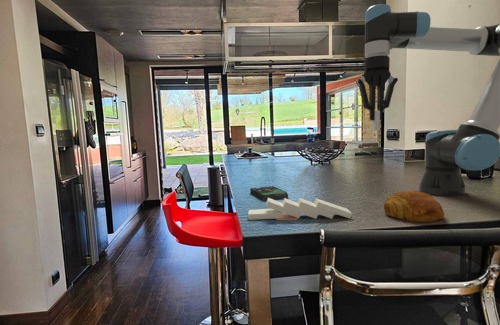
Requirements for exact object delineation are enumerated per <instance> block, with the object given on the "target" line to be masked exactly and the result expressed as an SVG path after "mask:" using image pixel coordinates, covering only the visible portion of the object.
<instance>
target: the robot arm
mask: <svg viewBox="0 0 500 325" xmlns="http://www.w3.org/2000/svg"><path fill="white" fill-rule="evenodd" d="M364 15H365V16H364V58H365V59H364V69H363V70H364V72H363V75H362V77H361V78H359V79H357V80H356V82H355V84H356V85H357V87H358V89H359V93H360V97H361V102H362V105H363V109H364V110H365V109H366V110H368V111H369V121H372V124H371V129H372V131H380V129H381V127H380V126H381V125H380V124H381V121H382V120H383V119H384V117H383V116H384V114H383V113H384V110H385V109H388V108H389V107H390V104H391V99H392V96H393V92H394V89H395V85H396V84H397V83H398V81H399V78H398V77H394V76H392V75H391V71H390V62H391V59H390V56H389V55H390V52H391V50H392V49H409V50H427V51H428V50H429V51H430V50H431V51H447V52H448V51H449V52H450V51H452V52H467V53H469V54H470V55H473V56H488V57H489V56H490V57H491V56H492V57H500V23H498V24H495V25H489V26H487V25H486V26H485V25H484V26H483V25H481V26H478V27H476V28H459V27H458V28H457V27H456V28H455V27H434V26H431V19H432V18H431V15H430V14H429V13H428V12H426V11H418V10H417V11H409V12H407V11H403V12H402V11H401V12H393V11H392V10H391V6H390V5H389V4H385V3H379V4H374V5H372V6H370V7H368V9H366V10H365V13H364ZM387 82H388V85H387V88H386V92H384V91H385V90H384V89H385V85H386V83H387ZM365 83H366V84H367V85H368V90H369V92H368V93H369V97H368V94H367V89H366V85H365ZM376 91H377V92H376ZM384 94H385V96H384ZM376 95H377V96H376ZM376 101H377V102H376ZM499 127H500V58H499V60H498V61H497V63H496V65H495V68H494V69H493V71H492V73H491V74H490V77H489V79H488V81H487V83H486V84H485V87H484V89H483V90H482V92H481V94H480V96H479V98H478V101H477V102H476V104H475V106H474V108H473V110H472V112H471V114H470V116H469V118H468V119H467V121H465V122H463V123H461V124H460V125H459V126H458V129H448V130H447V129H446V130H445V129H444V130H436V131H431V132H429V133H427V134H425V135H426V136H425V141H424V145H425V146H424V147H425V150H424V172H423V174H422V178H421V179H420V182H419V185H418V192H423V193H426V194H430V195H433V196H434V195H435V196H451V197H452V196H453V197H455V196H456V197H457V196H463V195H465V194H467V193H466V189H467V188H466V184H465V181H464V179H463V176H462V172H461V170H462V169H463V170H466V171H482V170H486V169H489V168H491V166H493V165H495V164H496V162H497V161H498V160H499V158H500V141H499V140H500V132H499V131H498V129H499Z"/></svg>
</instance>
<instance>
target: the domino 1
mask: <svg viewBox="0 0 500 325" xmlns="http://www.w3.org/2000/svg"><path fill="white" fill-rule="evenodd" d="M247 217H248V220H247V221H250V220H252V221H253V220H268V219H269V220H272V219H275V220H276V218H283V213H282V212H280V211H277V210H274V209H271V208H262V209H261V208H260V209H259V208H258V209H249V210H248V214H247Z"/></svg>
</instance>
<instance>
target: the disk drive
mask: <svg viewBox="0 0 500 325" xmlns="http://www.w3.org/2000/svg"><path fill="white" fill-rule="evenodd" d="M250 194H251V195H253V196H254V197H255V198H257V199H259V200H261V201H265V202H267V199H268V198H271V199H273V200H284V198H286V199H289V193H288V192H287V191H286V190H283V189H281V188H278V187H276V186H274V185H272V186H270V185H269V186H261V187H251V188H250Z"/></svg>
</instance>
